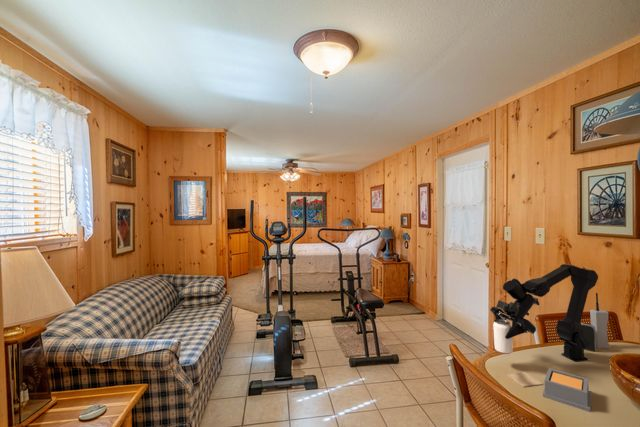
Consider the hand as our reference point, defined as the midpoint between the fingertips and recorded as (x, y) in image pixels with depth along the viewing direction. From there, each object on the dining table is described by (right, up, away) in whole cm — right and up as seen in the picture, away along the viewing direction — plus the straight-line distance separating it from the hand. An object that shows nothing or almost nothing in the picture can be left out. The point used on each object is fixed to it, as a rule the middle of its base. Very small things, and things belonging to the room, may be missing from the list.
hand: (499, 334), depth 119 cm
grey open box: (+11, -13, -20) cm, 26 cm away
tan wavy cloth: (+3, -13, -10) cm, 17 cm away
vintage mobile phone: (+56, -11, +13) cm, 58 cm away
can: (+2, -7, 0) cm, 7 cm away
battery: (+48, -12, +12) cm, 51 cm away
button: (+11, -10, -20) cm, 25 cm away
